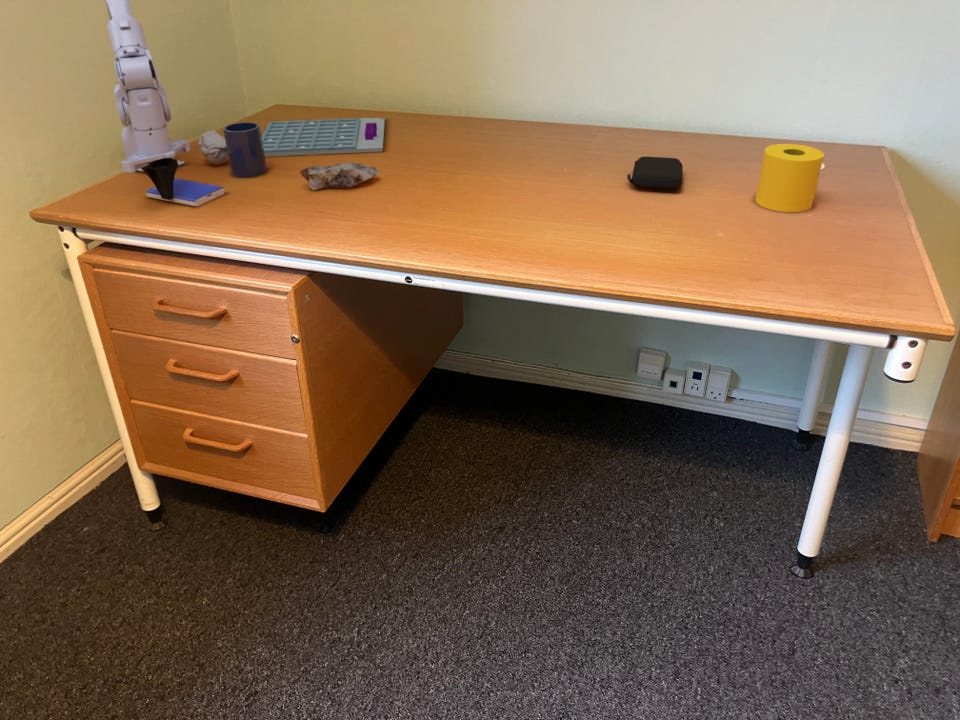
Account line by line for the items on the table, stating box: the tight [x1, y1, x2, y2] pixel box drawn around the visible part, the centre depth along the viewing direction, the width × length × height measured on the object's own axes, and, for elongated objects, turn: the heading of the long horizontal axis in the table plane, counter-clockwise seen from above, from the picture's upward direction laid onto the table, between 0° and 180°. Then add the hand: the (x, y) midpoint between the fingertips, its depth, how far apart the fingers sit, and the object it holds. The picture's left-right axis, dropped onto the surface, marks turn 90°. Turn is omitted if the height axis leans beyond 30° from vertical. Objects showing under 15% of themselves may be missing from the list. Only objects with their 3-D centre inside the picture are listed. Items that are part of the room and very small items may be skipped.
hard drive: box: [146, 177, 226, 207], centre depth 148 cm, size 2×8×12 cm
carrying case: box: [626, 156, 684, 193], centre depth 151 cm, size 11×3×15 cm
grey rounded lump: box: [198, 130, 229, 166], centre depth 163 cm, size 6×7×7 cm
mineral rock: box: [300, 161, 380, 192], centre depth 151 cm, size 15×8×4 cm, turn 92°
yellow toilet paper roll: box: [755, 143, 825, 213], centre depth 138 cm, size 10×10×9 cm
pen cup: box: [222, 121, 268, 179], centre depth 157 cm, size 7×7×10 cm
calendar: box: [261, 116, 386, 158], centre depth 180 cm, size 27×29×2 cm
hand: (167, 198), depth 144 cm, fingers closed
